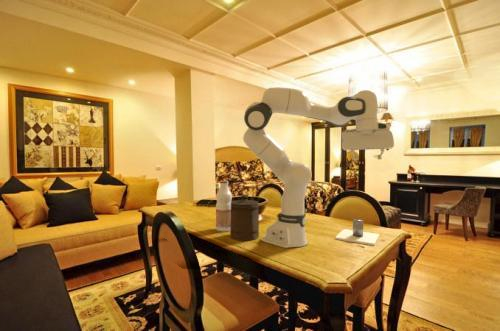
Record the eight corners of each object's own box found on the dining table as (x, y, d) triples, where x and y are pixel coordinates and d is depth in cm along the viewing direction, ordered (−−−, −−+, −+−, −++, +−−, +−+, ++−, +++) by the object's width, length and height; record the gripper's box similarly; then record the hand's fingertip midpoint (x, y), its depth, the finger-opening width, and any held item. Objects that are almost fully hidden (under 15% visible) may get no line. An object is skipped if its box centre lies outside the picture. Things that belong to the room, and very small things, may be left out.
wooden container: (247, 230, 142) (247, 192, 141) (264, 237, 130) (264, 195, 130) (225, 235, 133) (225, 194, 133) (240, 242, 121) (241, 197, 121)
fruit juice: (221, 232, 138) (221, 182, 137) (212, 229, 145) (212, 180, 144) (235, 229, 144) (235, 181, 143) (226, 226, 151) (226, 180, 150)
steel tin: (351, 235, 129) (352, 220, 129) (353, 233, 133) (353, 218, 133) (362, 237, 126) (362, 221, 126) (363, 235, 131) (364, 219, 130)
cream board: (335, 239, 127) (335, 237, 127) (343, 230, 142) (343, 229, 142) (374, 245, 117) (374, 243, 117) (379, 236, 132) (379, 234, 132)
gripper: (340, 128, 111) (340, 159, 109) (393, 124, 102) (394, 157, 100) (342, 131, 116) (342, 161, 115) (392, 128, 107) (393, 160, 106)
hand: (367, 159), depth 107 cm, fingers open, 8 cm apart
